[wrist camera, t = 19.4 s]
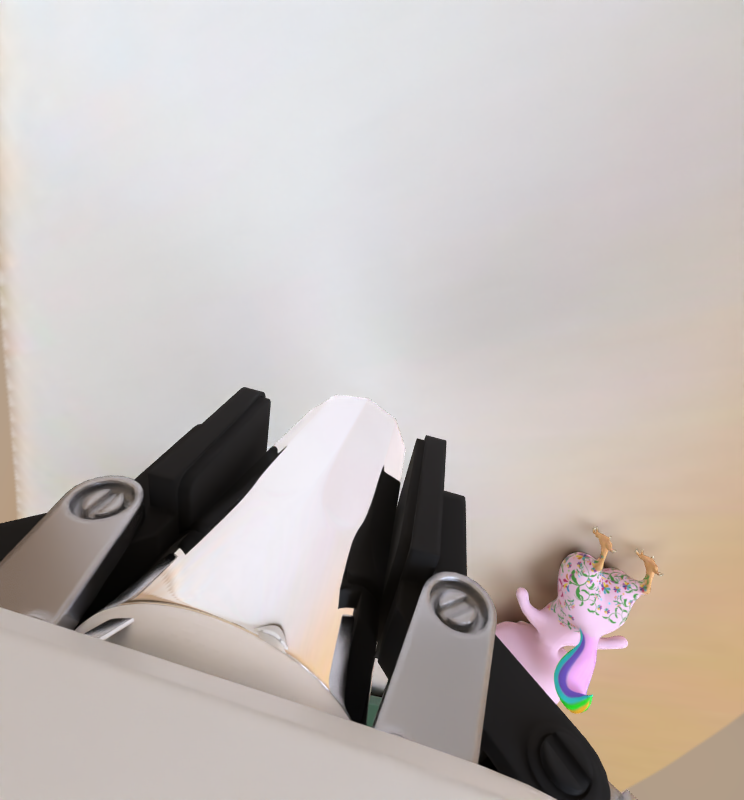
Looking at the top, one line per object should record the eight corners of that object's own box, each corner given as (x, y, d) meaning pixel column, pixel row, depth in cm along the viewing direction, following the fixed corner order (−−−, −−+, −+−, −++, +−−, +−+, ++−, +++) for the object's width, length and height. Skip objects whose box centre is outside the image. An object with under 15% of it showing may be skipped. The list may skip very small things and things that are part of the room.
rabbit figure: (555, 495, 21) (418, 683, 26) (606, 573, 16) (419, 798, 20) (660, 547, 22) (506, 725, 26) (748, 643, 16) (532, 850, 20)
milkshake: (394, 328, 11) (82, 810, 2) (443, 491, 13) (370, 1095, 4) (252, 364, 13) (-259, 743, 4) (314, 506, 15) (64, 976, 6)
